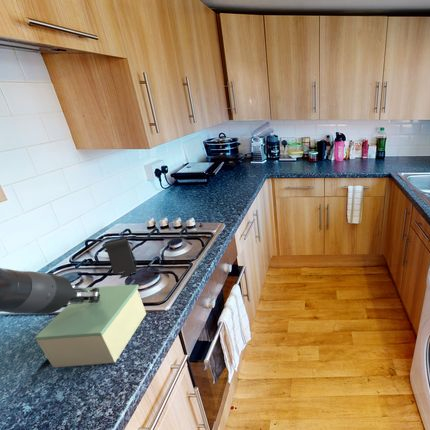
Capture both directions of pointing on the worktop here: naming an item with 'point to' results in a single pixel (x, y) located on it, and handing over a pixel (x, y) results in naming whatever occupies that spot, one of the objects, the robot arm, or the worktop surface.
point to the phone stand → (121, 256)
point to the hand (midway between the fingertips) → (96, 298)
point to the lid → (89, 314)
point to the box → (97, 340)
